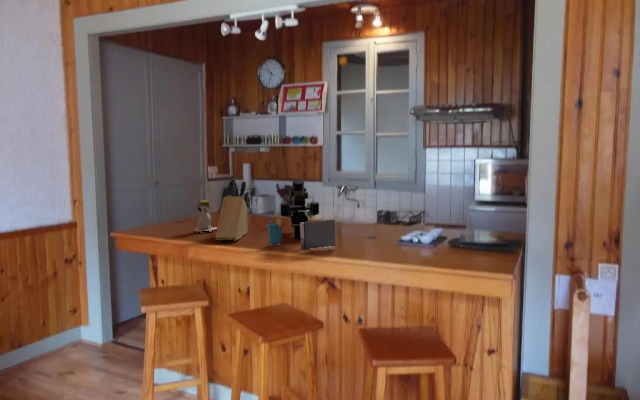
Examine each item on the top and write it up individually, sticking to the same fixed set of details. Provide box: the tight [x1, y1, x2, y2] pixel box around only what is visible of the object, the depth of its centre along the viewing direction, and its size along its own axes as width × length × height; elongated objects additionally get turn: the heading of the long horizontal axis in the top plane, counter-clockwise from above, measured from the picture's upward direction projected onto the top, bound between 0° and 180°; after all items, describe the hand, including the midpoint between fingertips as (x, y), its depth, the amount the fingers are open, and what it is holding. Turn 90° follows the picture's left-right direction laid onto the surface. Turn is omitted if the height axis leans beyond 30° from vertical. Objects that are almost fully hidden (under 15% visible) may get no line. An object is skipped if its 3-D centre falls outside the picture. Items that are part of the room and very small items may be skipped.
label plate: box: [317, 246, 335, 250], centre depth 228 cm, size 8×11×1 cm
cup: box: [262, 214, 284, 245], centre depth 239 cm, size 14×8×15 cm, turn 52°
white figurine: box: [194, 199, 217, 232], centre depth 280 cm, size 12×13×18 cm
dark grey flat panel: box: [300, 218, 336, 250], centre depth 225 cm, size 2×17×12 cm, turn 112°
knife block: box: [214, 178, 251, 241], centre depth 263 cm, size 11×35×31 cm, turn 174°
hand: (301, 217), depth 229 cm, fingers open, 9 cm apart
